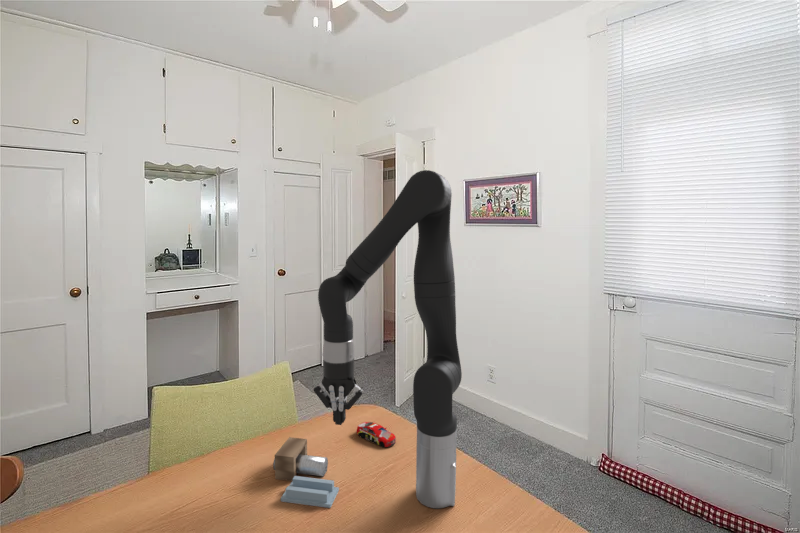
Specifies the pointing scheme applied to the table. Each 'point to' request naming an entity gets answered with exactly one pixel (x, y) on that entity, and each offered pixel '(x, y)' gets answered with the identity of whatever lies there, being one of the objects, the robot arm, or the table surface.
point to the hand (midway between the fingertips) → (339, 423)
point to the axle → (310, 465)
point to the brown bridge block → (289, 458)
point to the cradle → (311, 492)
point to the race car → (376, 434)
